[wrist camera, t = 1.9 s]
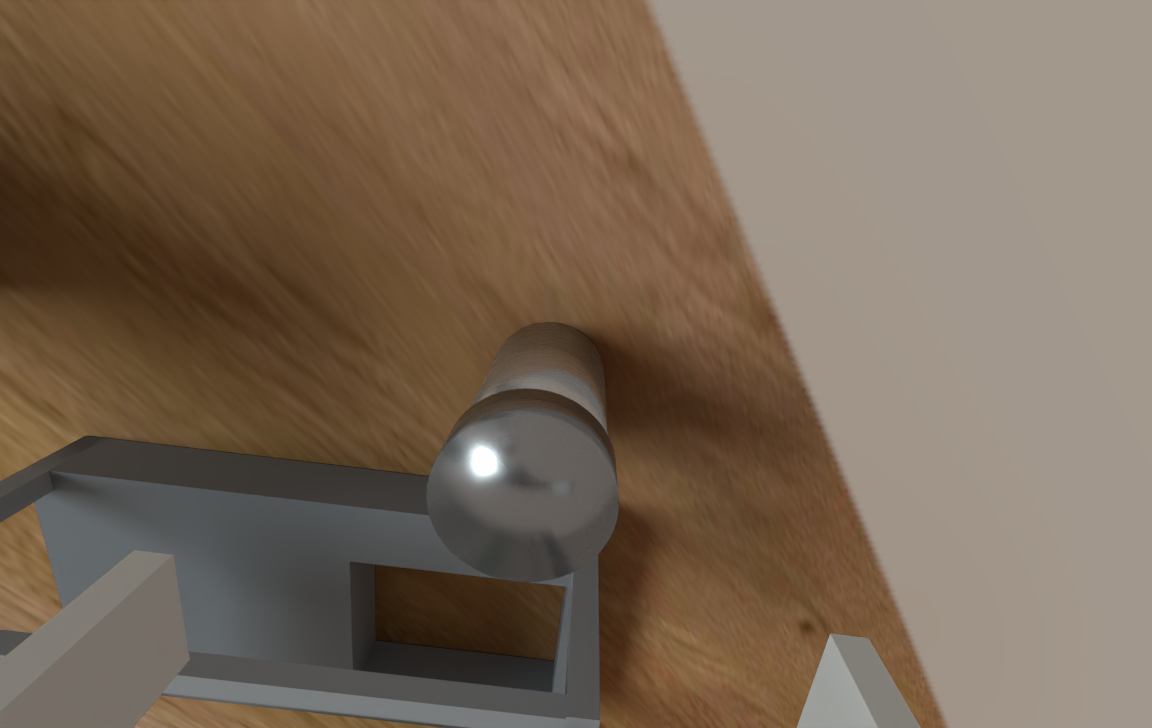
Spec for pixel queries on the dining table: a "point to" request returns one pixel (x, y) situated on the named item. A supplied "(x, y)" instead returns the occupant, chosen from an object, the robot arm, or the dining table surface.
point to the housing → (296, 584)
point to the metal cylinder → (530, 462)
